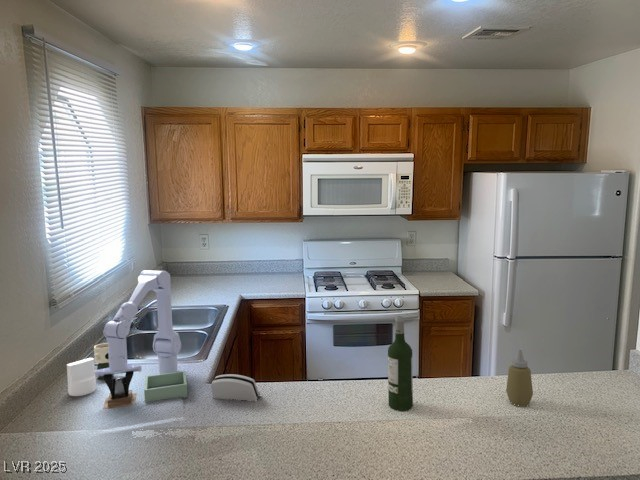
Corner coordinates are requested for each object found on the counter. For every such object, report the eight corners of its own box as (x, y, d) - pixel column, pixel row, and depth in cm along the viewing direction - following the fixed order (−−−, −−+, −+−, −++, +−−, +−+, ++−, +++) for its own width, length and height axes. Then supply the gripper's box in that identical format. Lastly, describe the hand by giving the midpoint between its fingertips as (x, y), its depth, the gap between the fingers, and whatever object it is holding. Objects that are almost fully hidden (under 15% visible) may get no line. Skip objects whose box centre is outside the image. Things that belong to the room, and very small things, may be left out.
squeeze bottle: (512, 396, 154) (512, 344, 153) (536, 403, 148) (537, 349, 147) (501, 403, 148) (502, 350, 147) (527, 411, 142) (527, 355, 141)
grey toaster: (261, 395, 159) (257, 373, 155) (257, 405, 155) (252, 382, 151) (218, 392, 163) (212, 370, 159) (212, 401, 159) (207, 379, 155)
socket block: (106, 400, 158) (105, 392, 158) (136, 395, 161) (136, 387, 161) (102, 412, 149) (102, 403, 148) (135, 407, 152) (134, 398, 152)
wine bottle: (384, 403, 150) (382, 315, 148) (403, 399, 153) (403, 312, 151) (397, 413, 143) (395, 320, 141) (417, 408, 146) (416, 317, 144)
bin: (146, 389, 167) (145, 376, 167) (185, 383, 172) (184, 370, 171) (144, 404, 154) (144, 390, 154) (187, 397, 158) (186, 384, 158)
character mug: (105, 382, 175) (103, 349, 174) (88, 381, 176) (86, 349, 175) (121, 372, 186) (119, 341, 185) (105, 371, 187) (103, 341, 186)
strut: (114, 399, 156) (113, 377, 156) (127, 397, 158) (125, 375, 157) (113, 404, 152) (112, 381, 152) (126, 402, 154) (125, 379, 153)
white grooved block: (88, 386, 171) (86, 356, 170) (101, 392, 166) (99, 360, 165) (63, 395, 164) (61, 363, 163) (76, 400, 158) (74, 367, 157)
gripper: (92, 362, 148) (95, 402, 149) (140, 356, 152) (142, 395, 153) (95, 355, 154) (98, 394, 155) (141, 350, 159) (142, 387, 160)
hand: (120, 394), depth 155 cm, fingers closed on strut, 4 cm apart
